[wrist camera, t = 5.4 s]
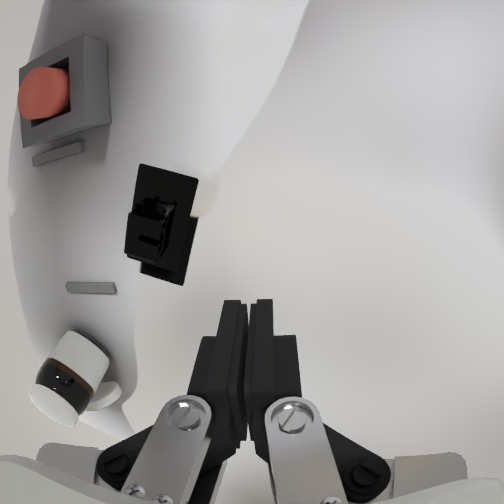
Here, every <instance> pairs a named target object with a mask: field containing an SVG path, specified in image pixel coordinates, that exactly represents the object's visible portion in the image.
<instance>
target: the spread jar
mask: <svg viewBox="0 0 504 504" xmlns="http://www.w3.org/2000/svg"><path fill="white" fill-rule="evenodd" d="M109 363H110V358H109V355H108V354H107V352H106V351H105V349H104V348H103V347H102V345H101V344H100V343H99V342H98V341H97V340H95V339H94V338H93V337H91V336H90V335H88V334H86V333H84V332H81V331H79V330H75V329H71V330H69V331H67V332H66V333H65V334H64V336H63V337H62V338H61V339H60V341H59V342H58V344H57V345H56V346H55V348H54V349H53V351H52V352H51V353H50V355H49V356H48V358H47V359H46V360H45V362H44V363H43V365H42V366H41V368H40V370H39V372H38V374H37V377H36V383H35V384H34V385H33V387H32V388H31V390H30V392H29V398H30V400H31V401H32V402H33V404H34V405H35V406H36V407H37V408H38V409H39V410H40V411H41V412H42V413H43V414H45V415H46V416H47V417H49V418H50V419H52V420H53V421H55V422H57V423H58V424H60V425H63V426H65V427H70V428H72V427H75V424H76V422H77V420H78V418H79V417H78V416H79V415H81V414H82V413H83V412H84V411H85V410H86V411H96V410H99V409H102V408H105V407H107V406H109V405H110V404H112V403H113V402H115V401H116V400H117V399H118V398H119V397H120V395H121V393H122V391H121V389H120V387H119V385H118V383H117V382H115V381H108V382H104V383H101V384H100V382H101V380H102V378H103V377H104V375H105V373H106V371H107V369H108V366H109Z"/></svg>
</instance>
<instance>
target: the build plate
mask: <svg viewBox="0 0 504 504" xmlns="http://www.w3.org/2000/svg"><path fill="white" fill-rule="evenodd" d="M198 181H199V180H198V179H197V178H194V177H190V176H186V175H183V174H179V173H175V172H172V171H168V170H164V169H160V168H157V167H153V166H149V165H145V164H140V165H139V169H138V175H137V180H136V187H135V193H134V199H133V206H132V211H131V212H130V213H128V221H127V230H126V239H125V249H124V253H125V254H127V257H128V258H131V259H135V260H138V261H141V266H140V273H142V274H145V275H148V276H151V277H154V278H157V279H161V280H164V281H167V282H170V283H173V284H176V285H180V286H183V284H184V282H185V277H186V272H187V267H188V263H189V258H190V254H191V249H192V245H193V240H194V236H195V232H196V228H197V224H198V219H199V217H194V216H190V214H191V209H192V205H193V201H194V197H195V193H196V189H197V185H198Z"/></svg>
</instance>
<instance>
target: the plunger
mask: <svg viewBox="0 0 504 504" xmlns="http://www.w3.org/2000/svg"><path fill="white" fill-rule="evenodd" d="M18 108H19V111H20V113H21V115H22V116H23V117H24V118H26V119H29V120H31V119H39V118H47V117H57V116H61V115H63V114H66V113H69V112H70V111H71V105H70V87H69V70H67V69H59V68H50V67H36V68H34V69H32V70H31V71H30V72H29V73H28V74H27V75H26V76H25V78H24V79H23V81H22V83H21V86H20V88H19V92H18Z"/></svg>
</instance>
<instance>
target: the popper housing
mask: <svg viewBox="0 0 504 504" xmlns="http://www.w3.org/2000/svg"><path fill="white" fill-rule="evenodd" d="M36 67H50V68H59V69H67V70H69V87H70V105H71V111H70V112H69V113H66V114H63V115H61V116H57V117H47V118H39V119H31V120H29V119H26V118H24V117H23V116H22V115H21V113H20V121H21V132H22V142H23V148H26V147H30V146H34V145H38V144H42V143H47V142H50V141H53V140H56V139H59V138H62V137H64V136H67V135H70V134H73V133H77V132H80V131H83V130H86V129H90V128H93V127H96V126H100V125H104V124H107V123H111V112H110V100H109V85H108V59H107V43H106V42H104V41H101V40H98V39H96V38H93V37H90V36H87V35H84V34H83V35H81V36H79V37H77V38H74V39H72V40H70V41H68V42H66V43H64V44H62V45H60V46H58V47H56V48H54V49H53V50H51V51H49V52H47V53H45V54H43V55H42V56H40V57H38V58H36V59H35V60H33V61H31V62H30V63H28V64H27V65H25V66H23V67H22V68H20V69H19V88H20V86H21V83H22V81H23V79H24V78H25V76H26V75H27V74H28V73H29V72H30V71H31V70H32V69H34V68H36Z"/></svg>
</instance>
